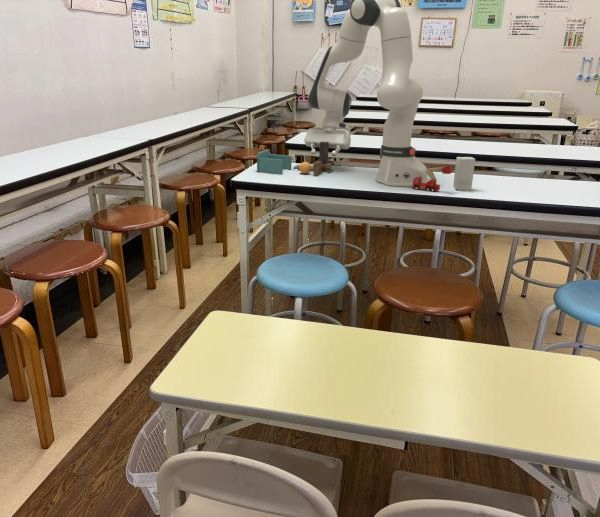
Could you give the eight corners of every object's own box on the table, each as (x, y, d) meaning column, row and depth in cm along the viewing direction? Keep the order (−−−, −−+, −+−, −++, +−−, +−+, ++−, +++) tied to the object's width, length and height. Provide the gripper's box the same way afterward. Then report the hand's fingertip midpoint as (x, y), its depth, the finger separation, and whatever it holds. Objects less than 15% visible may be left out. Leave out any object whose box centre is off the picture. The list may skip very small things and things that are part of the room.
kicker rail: (333, 171, 222) (333, 168, 221) (330, 173, 217) (330, 170, 217) (297, 167, 227) (297, 165, 227) (293, 169, 223) (293, 167, 223)
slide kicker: (331, 170, 222) (332, 142, 217) (321, 176, 210) (322, 146, 206) (318, 169, 224) (319, 141, 219) (308, 174, 212) (308, 145, 208)
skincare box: (467, 188, 196) (472, 156, 192) (471, 190, 192) (476, 158, 187) (452, 187, 196) (456, 156, 191) (455, 190, 192) (459, 158, 187)
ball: (312, 173, 217) (312, 161, 215) (308, 175, 213) (308, 163, 211) (301, 172, 219) (301, 160, 217) (297, 174, 214) (297, 162, 213)
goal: (291, 169, 223) (291, 151, 220) (281, 174, 214) (281, 155, 211) (267, 167, 227) (267, 149, 224) (257, 172, 218) (256, 153, 215)
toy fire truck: (413, 187, 196) (416, 162, 192) (449, 192, 190) (452, 166, 186) (411, 189, 193) (413, 163, 189) (447, 193, 187) (450, 167, 183)
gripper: (307, 122, 223) (299, 148, 218) (352, 125, 217) (344, 151, 212) (310, 131, 229) (302, 156, 224) (354, 134, 222) (347, 160, 217)
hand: (323, 154), depth 218 cm, fingers open, 8 cm apart
